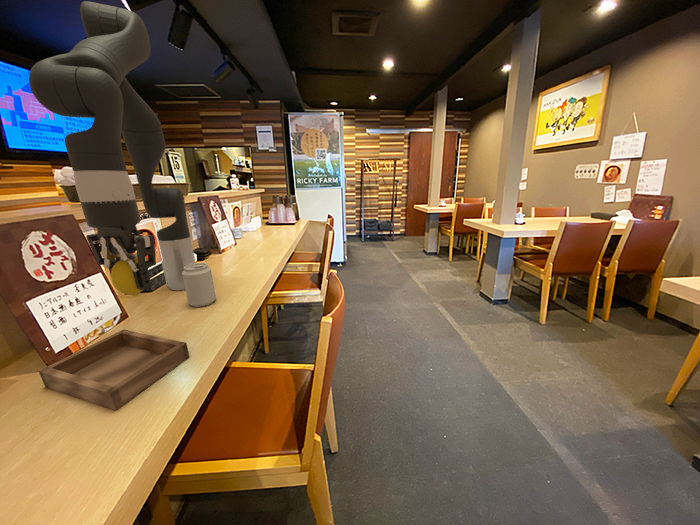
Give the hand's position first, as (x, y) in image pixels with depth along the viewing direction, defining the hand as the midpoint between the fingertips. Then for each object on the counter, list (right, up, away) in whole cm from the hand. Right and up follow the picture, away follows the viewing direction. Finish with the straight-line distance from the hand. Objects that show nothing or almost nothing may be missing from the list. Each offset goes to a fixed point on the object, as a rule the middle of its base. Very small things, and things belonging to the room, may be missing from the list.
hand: (132, 286), depth 53 cm
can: (-2, -8, +30) cm, 31 cm away
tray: (-2, -17, +1) cm, 17 cm away
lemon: (0, -2, +1) cm, 2 cm away
